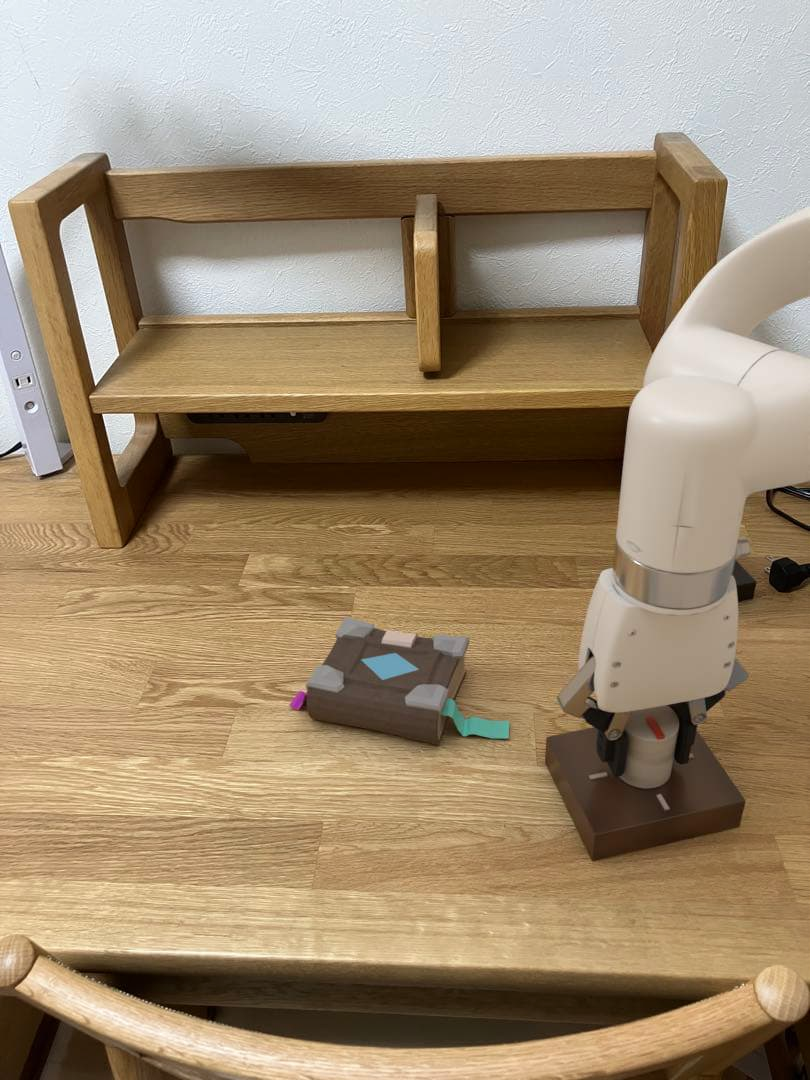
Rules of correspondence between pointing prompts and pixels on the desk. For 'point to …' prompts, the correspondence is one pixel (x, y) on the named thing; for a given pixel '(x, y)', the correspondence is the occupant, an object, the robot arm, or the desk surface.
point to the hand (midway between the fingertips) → (643, 755)
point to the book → (393, 684)
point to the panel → (640, 797)
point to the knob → (650, 746)
